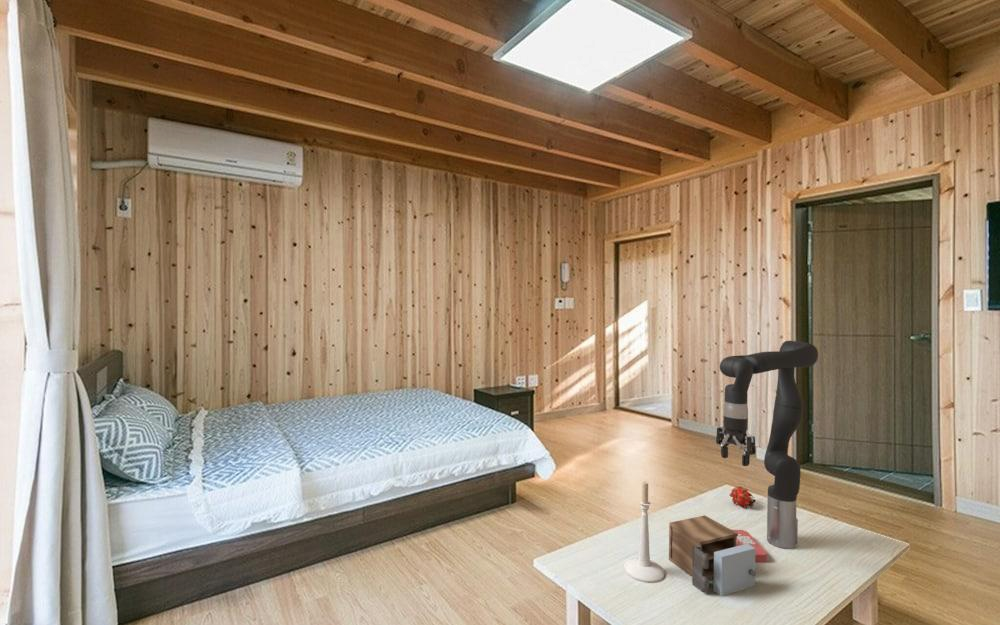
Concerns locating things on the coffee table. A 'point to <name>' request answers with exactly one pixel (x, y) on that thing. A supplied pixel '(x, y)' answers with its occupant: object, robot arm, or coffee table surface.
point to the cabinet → (698, 547)
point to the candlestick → (644, 550)
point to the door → (734, 569)
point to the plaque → (748, 539)
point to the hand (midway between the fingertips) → (734, 461)
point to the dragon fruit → (742, 497)
